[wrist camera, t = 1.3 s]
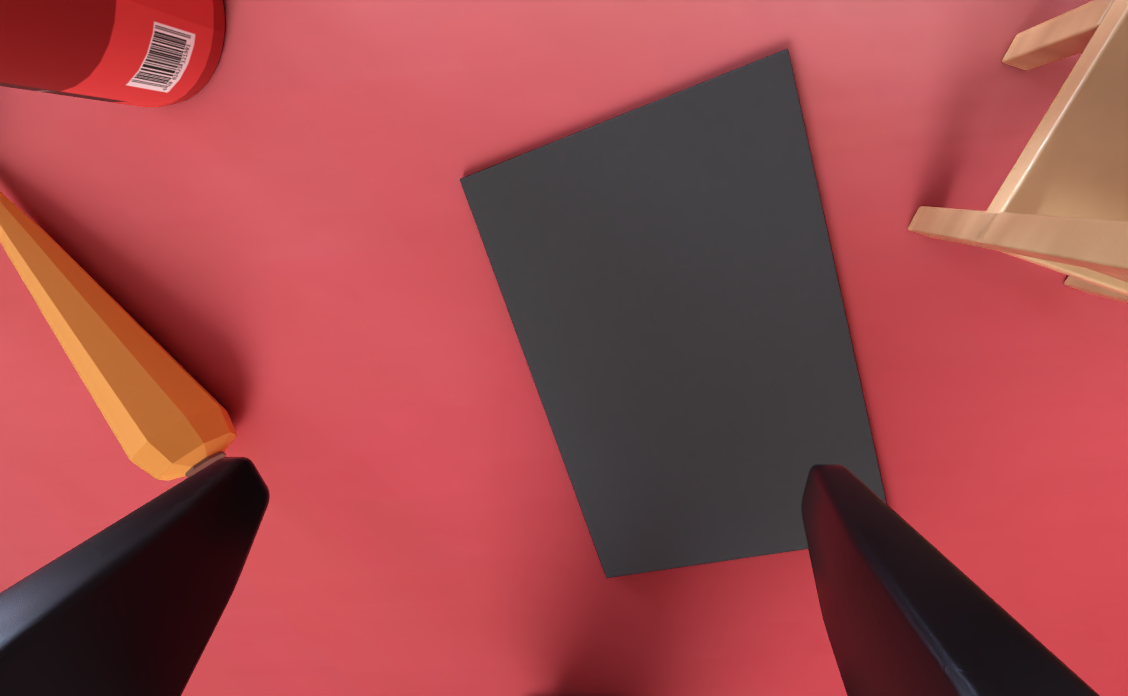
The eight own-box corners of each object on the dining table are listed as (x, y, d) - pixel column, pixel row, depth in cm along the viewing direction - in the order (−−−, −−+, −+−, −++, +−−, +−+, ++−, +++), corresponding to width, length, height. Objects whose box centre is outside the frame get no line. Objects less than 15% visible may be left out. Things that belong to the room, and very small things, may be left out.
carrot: (267, 431, 28) (215, 444, 24) (199, 483, 28) (134, 506, 24) (36, 142, 28) (-60, 100, 24) (-34, 192, 28) (-145, 160, 23)
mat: (891, 531, 23) (894, 536, 22) (607, 574, 26) (606, 578, 26) (786, 50, 18) (787, 48, 18) (462, 179, 22) (459, 179, 21)
